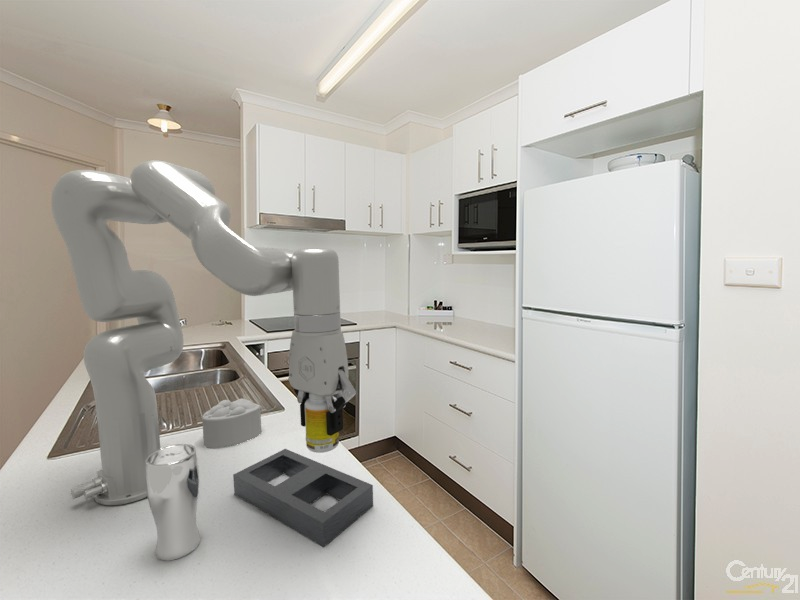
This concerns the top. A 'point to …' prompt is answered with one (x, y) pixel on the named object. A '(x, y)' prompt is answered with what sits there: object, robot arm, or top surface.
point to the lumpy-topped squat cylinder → (231, 423)
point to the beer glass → (174, 499)
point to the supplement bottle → (318, 425)
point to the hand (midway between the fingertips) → (321, 426)
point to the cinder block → (304, 494)
